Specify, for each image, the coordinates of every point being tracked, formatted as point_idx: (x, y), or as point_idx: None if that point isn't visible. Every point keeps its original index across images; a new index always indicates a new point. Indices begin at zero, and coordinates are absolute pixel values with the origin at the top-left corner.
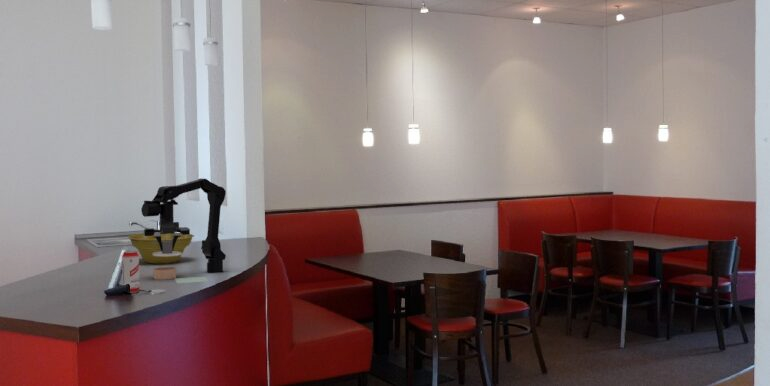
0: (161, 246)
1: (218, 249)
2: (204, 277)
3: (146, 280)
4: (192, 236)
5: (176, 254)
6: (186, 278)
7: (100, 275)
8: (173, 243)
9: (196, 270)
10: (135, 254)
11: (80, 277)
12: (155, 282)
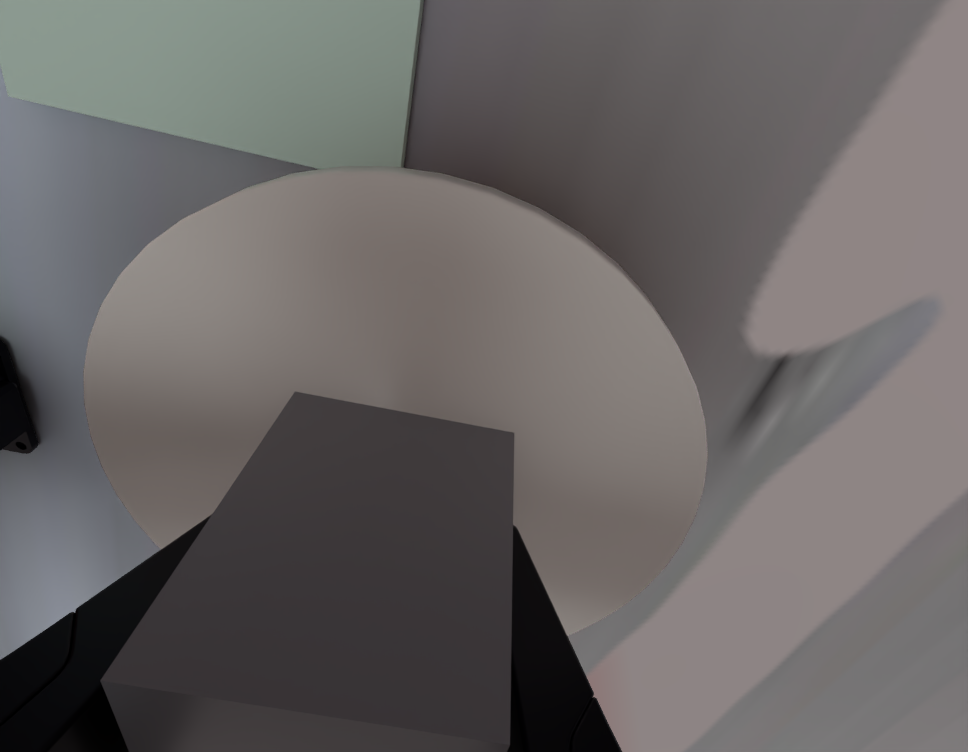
0: (522, 626)
1: None
2: (6, 30)
3: None
4: None
5: (211, 207)
6: (252, 92)
7: (801, 684)
8: (119, 635)
9: (144, 557)
10: None
11: (945, 684)
12: (653, 127)
